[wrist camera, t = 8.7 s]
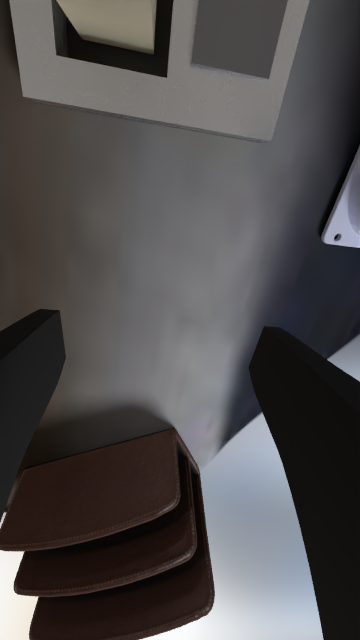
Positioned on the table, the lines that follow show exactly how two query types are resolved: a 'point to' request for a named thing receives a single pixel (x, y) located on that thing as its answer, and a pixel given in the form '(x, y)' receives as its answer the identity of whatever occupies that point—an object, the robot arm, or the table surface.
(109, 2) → the plug
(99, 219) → the table surface
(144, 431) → the table surface
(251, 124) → the panel
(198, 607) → the letter holder
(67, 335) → the table surface
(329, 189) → the table surface
